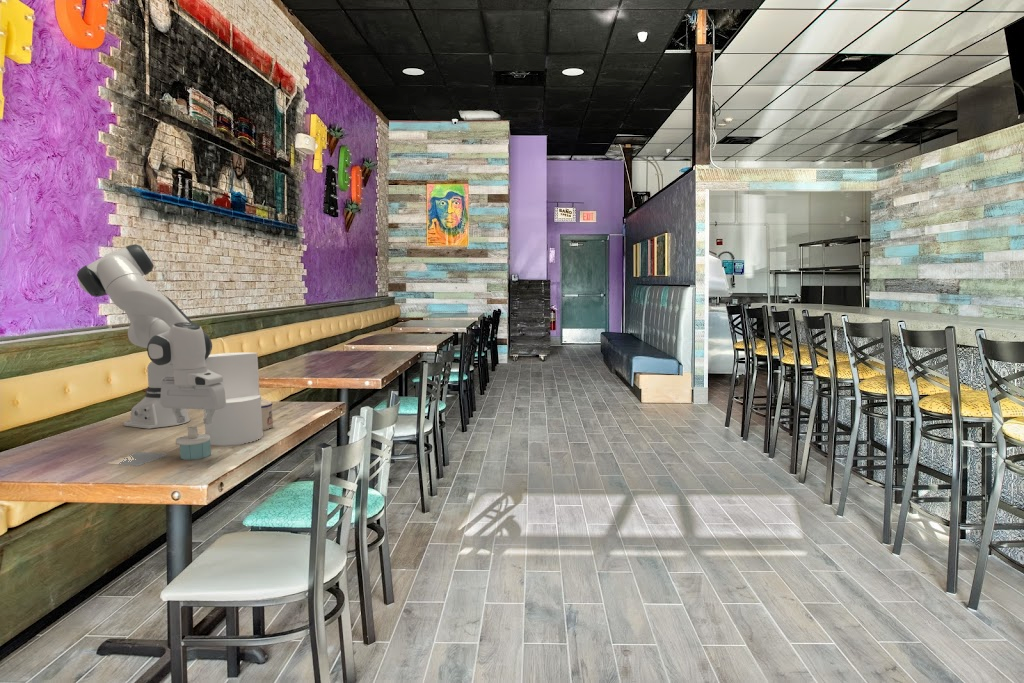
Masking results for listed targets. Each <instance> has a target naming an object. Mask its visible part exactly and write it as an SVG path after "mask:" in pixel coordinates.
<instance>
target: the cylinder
mask: <svg viewBox="0 0 1024 683" xmlns="http://www.w3.org/2000/svg"><path fill="white" fill-rule="evenodd" d="M205 362H206V364H207V370H210V371H212V372H214V373H217V374H219V375H222V377H223V381H222V382H220V383H221V384H222V385H223V387H224V390H225V397H226V404H225V406H224V408H221V409H218V410H215V412H214V414H213V416H212V423H211V424H204V432H205V433H204V434H207V435H210V445H211V446H223V447H224V446H235V445H236V446H237V445H245V444H244V443H246V444H249V443H248V442H250V443H253V442H252V441H254V442H256V441H255V440H257V441H258V439H259V440H261V439H262V438H263V437H264V433H263V432H264V430H263V429H262V410H261V399H262V395H260V394H261V393H260V380H259V379H260V378H259V360H258V352H247V351H246V352H222V353H212V354H211V353H210V355H209V356H208V358H207V359H206V360H205ZM206 416H207V413H206V409H203V417H204V418H206ZM262 436H263V437H262ZM261 437H262V438H261ZM260 438H261V439H260Z"/></svg>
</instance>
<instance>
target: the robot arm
mask: <svg viewBox="0 0 1024 683" xmlns="http://www.w3.org/2000/svg"><path fill="white" fill-rule="evenodd" d="M154 268H155V266H154V260H153V258H152V256H151V254H150V253H149V251H148V250H147V249H145V248H144V247H142V246H141V245H139V244H137V243H136V244H135V243H134V244H130V245H126V246H125V247H124V248H120V249H118V250H115V251H112V252H108V253H107V254H105V255H104V256H102V257H100V258H98V259H96V260H94V261H93V262H91V263H89V264H88V265H84V266H82V267H80V269H79V270H77V273H76V277H77V281H78V284H79V286H80V288H81V289H82V290H83V291H84V292H86V293H87V294H89V295H90V296H92V297H95V298H97V297H99V298H100V297H104V296H106V295H108V297H109V299H110V300H111V301H112V302H113V303H114V305H115V306H116V307H117V308H119V309H121V310H122V311H124V312H125V315H126V316H127V318H128V320H129V324H130V325H129V326H128V328H127V338H128V340H129V342H130V343H131V344H132V345H134V346H137V347H141V348H144V349H146V351H147V356H148V358H149V359H150V361H151V362H149V363H148V365H147V367H146V370H147V384H148V386H147V387H146V388H143V389H142V393H145V395H144V397H143V398H142V399H141V400H140V401H139V402H137V404H135V405H133V407H132V408H131V410H130V419H129V420H126V421H124V422H123V426H126V427H133V428H141V429H156V428H165V427H172V426H173V427H174V426H178V425H181V424H182V425H183V424H186V423H188V422H190V421H191V419H190V416H189V414H188V410H189V409H190V410H204V409H206V413H207V416H206V418H203V419H202V420H203V425H205V424H211V423H212V416H213V414H214V412H215V410H218V409H221V408H224V406H225V404H226V397H225V390H224V387H223V385H222V384H221V383H220V382H222V381H223V377H222V375H219V374H217V373H214V372H212V371H210V370H207V364H206V362H205V360H206V359H207V358H208V356H209V355H211V353H212V349H213V342H212V340H211V338H210V336H209V335H208V334H207V333H206V332H205V331H204V330H203V327H202V326H201V325H200V324H198V323H195V322H193V321H192V320H191V319H190V318H189V317H188V316H187V315H186V314H185V312H184V311H183V310H182V309H181V308H180V307H179V306H178V305H177V304H176V303H175V302H174V301H173V300H172V299H171V298H169V297H168V296H166V294H163V293H161V292H160V291H159V290H157V289H156V288H154V286H152V285H151V284H150V283H149V282H148V281H147V280H146V279H145V277H144V276H147V275H148V274H149V273H150V272H152V271H153V269H154Z"/></svg>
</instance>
